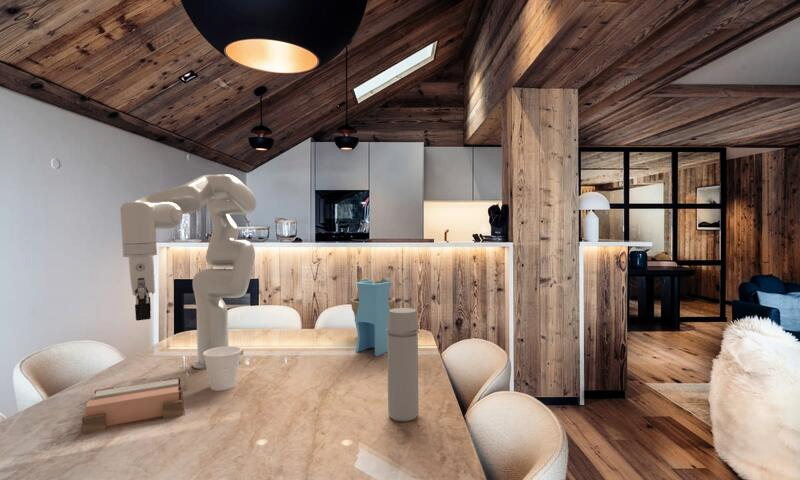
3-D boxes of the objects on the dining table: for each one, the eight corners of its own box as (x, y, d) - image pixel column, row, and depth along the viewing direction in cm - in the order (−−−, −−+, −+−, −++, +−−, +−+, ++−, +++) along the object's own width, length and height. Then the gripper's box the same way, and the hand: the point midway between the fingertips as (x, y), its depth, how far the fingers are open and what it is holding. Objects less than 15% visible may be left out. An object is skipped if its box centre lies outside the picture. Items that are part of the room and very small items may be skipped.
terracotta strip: (178, 406, 106) (178, 386, 106) (179, 412, 103) (178, 391, 102) (88, 422, 98) (88, 400, 97) (86, 429, 94) (85, 407, 94)
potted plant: (345, 341, 172) (344, 278, 172) (358, 330, 191) (357, 273, 190) (391, 342, 169) (390, 278, 169) (399, 331, 188) (398, 274, 187)
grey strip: (178, 391, 116) (178, 378, 116) (178, 396, 112) (178, 383, 112) (96, 405, 107) (96, 391, 107) (94, 411, 104) (94, 396, 104)
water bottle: (409, 426, 97) (408, 314, 96) (380, 418, 101) (379, 311, 100) (429, 411, 104) (428, 308, 104) (401, 404, 109) (400, 305, 108)
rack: (93, 407, 109) (92, 390, 109) (182, 392, 118) (182, 376, 118) (79, 440, 92) (79, 419, 92) (185, 420, 101) (184, 401, 101)
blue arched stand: (392, 349, 160) (392, 281, 159) (377, 355, 151) (376, 284, 151) (371, 345, 165) (370, 280, 164) (355, 351, 157) (354, 283, 156)
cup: (249, 386, 123) (249, 347, 123) (225, 399, 114) (224, 357, 113) (221, 382, 126) (220, 345, 126) (195, 395, 117) (194, 354, 117)
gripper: (157, 251, 106) (160, 320, 107) (156, 247, 121) (159, 307, 122) (120, 253, 102) (124, 325, 103) (124, 248, 117) (128, 311, 118)
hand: (143, 315), depth 113 cm, fingers open, 9 cm apart
